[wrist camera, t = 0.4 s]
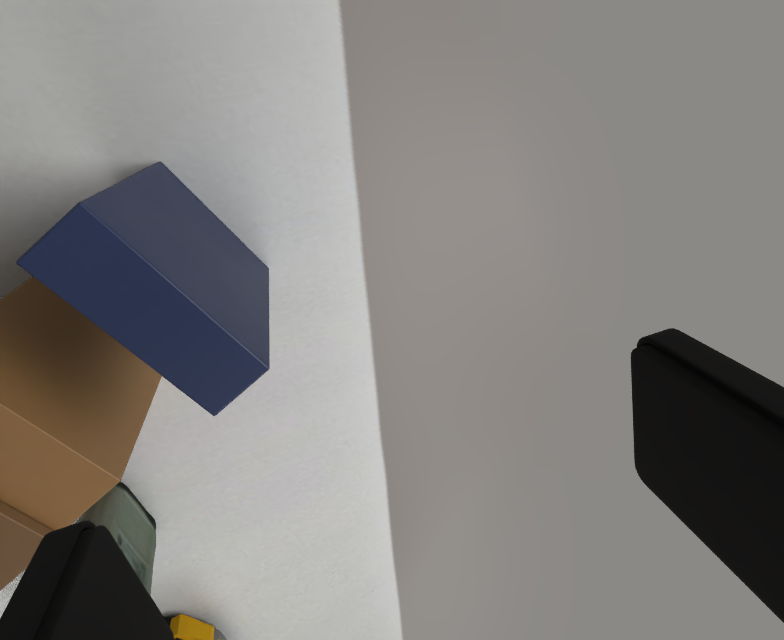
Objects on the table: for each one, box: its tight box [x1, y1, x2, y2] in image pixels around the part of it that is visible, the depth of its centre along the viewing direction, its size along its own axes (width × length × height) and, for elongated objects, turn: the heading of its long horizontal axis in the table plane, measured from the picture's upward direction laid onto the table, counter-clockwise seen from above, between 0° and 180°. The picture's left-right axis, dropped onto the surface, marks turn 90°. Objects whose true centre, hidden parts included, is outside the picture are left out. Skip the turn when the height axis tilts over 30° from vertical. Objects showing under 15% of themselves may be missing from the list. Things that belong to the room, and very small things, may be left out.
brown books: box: [0, 276, 162, 591], centre depth 24 cm, size 8×7×12 cm
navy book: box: [17, 162, 269, 416], centre depth 23 cm, size 8×3×13 cm, turn 39°
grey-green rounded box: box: [77, 482, 156, 595], centre depth 31 cm, size 6×5×8 cm
